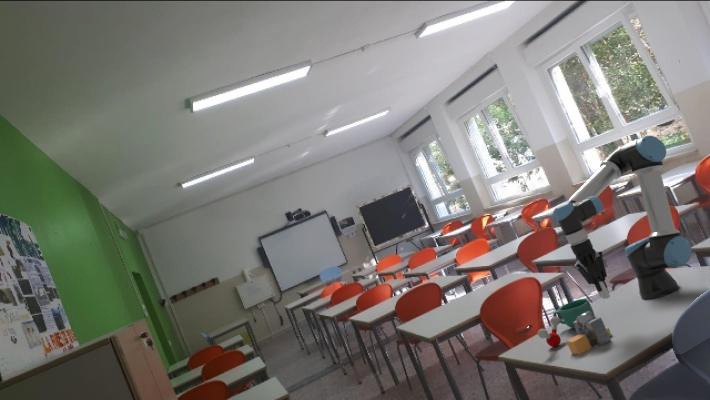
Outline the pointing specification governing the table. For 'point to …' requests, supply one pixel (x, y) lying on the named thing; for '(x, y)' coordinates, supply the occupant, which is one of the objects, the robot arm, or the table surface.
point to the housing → (592, 328)
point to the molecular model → (551, 338)
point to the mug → (573, 311)
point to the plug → (581, 343)
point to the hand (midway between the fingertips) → (606, 297)
